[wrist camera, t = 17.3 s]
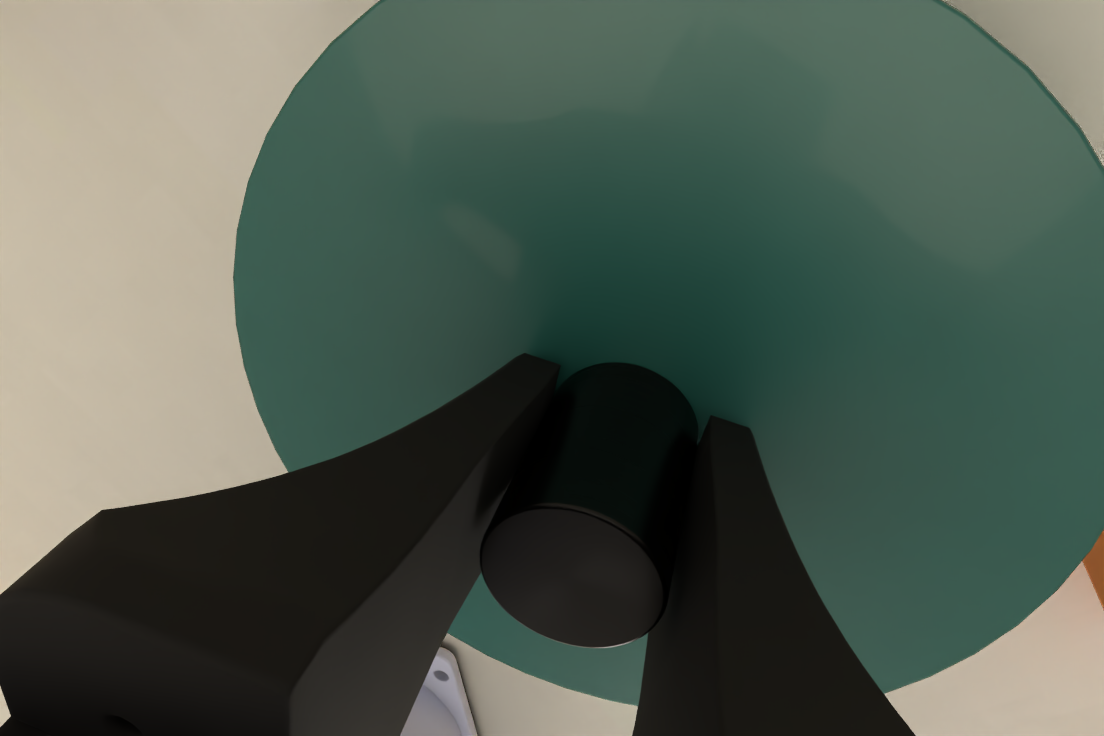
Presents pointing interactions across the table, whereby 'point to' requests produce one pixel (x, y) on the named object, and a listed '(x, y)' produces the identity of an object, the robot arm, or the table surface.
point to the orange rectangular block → (1096, 567)
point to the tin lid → (700, 301)
